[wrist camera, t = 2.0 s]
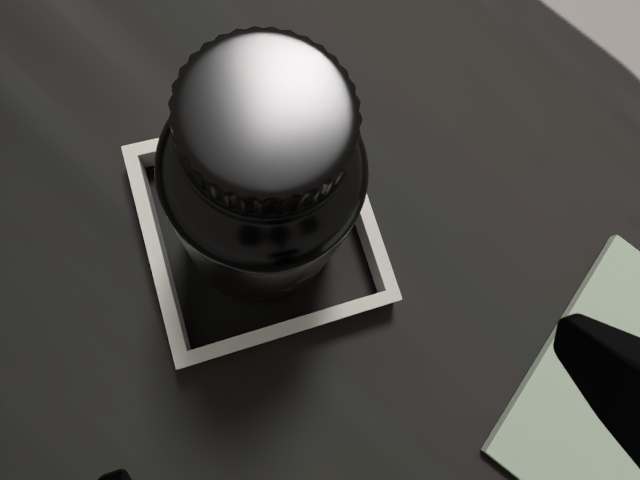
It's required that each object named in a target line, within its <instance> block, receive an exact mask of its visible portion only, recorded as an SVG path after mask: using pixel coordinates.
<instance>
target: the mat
mask: <svg viewBox="0 0 640 480" xmlns="http://www.w3.org/2000/svg"><path fill="white" fill-rule="evenodd" d="M575 313H579V314H583V315H585V316H588V317H590V318H593V319H595V320H598V321H600V322H603V323H605V324H608V325H610V326H613V327H615V328H618V329H620V330H623V331H625V332H628V333H630V334H633V335H635V336H638V337H640V252H639V251H638V250H637V249H636V248H634V247H633V246H632V245H630V244H629V243H628V242H626V241H625V240H624V239H622V238H621V237H620V236H618V235H614V236H611V237H610V238H609V239H608V241H607V243H606V244H605V246H604V248H603V249H602V251H601V253H600V254H599V256H598V258H597V259H596V261H595V262H594V264H593V266H592V267H591V269H590V271H589V272H588V274H587V276H586V277H585V279H584V281H583V282H582V284H581V285H580V287H579V289H578V290H577V292H576V294H575V295H574V297H573V299H572V300H571V302H570V304H569V305H568V307H567V308H566V310H565V312H564V313H563V315H562V317H561V318H563V317H566V316H568V315H571V314H575ZM561 318H560V319H561ZM556 328H557V325H556V327H555V328H554V330H553V332H552V333H551V335H550V336H549V338H548V340H547V341H546V343H545V345H544V346H543V348H542V350H541V351H540V353H539V355H538V356H537V358H536V359H535V361H534V363H533V364H532V366H531V368H530V369H529V371H528V373H527V374H526V376H525V378H524V379H523V381H522V382H521V384H520V386H519V387H518V389H517V391H516V392H515V394H514V396H513V397H512V399H511V401H510V402H509V404H508V405H507V407H506V409H505V410H504V412H503V414H502V415H501V417H500V419H499V420H498V422H497V424H496V425H495V427H494V429H493V430H492V432H491V433H490V435H489V437H488V438H487V440H486V442H485V443H484V445H483V447H482V448H481V450H482V451H483V452H484V453H485V454H487V455H488V456H489V457H490V458H492V459H493V460H494V461H495V462H497V463H498V464H499V465H500V466H502V467H503V468H504V469H506V470H507V471H508V472H509V473H511V474H512V475H513V476H514V477H516V478H517V479H518V480H640V469H639V468H638V466H637V465H636V464H635V463H634V462H633V460H632V459H631V458H630V457H629V455H628V454H627V453H626V452H625V451H624V449H623V448H622V447H621V446H620V444H619V443H618V442H617V441H616V440H615V438H614V437H613V436H612V435H611V433H610V432H609V431H608V430H607V428H606V427H605V426H604V425H603V423H602V422H601V421H600V420H599V418H598V417H597V416H596V414H595V413H594V411H593V410H592V409H591V407H590V406H589V404H588V403H587V401H586V400H585V398H584V397H583V395H582V394H581V392H580V391H579V389H578V388H577V386H576V385H575V383H574V382H573V380H572V379H571V377H570V376H569V374H568V373H567V371H566V370H565V368H564V367H563V365H562V364H561V362H560V361H559V359H558V358H557V356H556V354H555V352H554V348H553V343H554V338H555V333H556Z"/></svg>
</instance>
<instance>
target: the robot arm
mask: <svg viewBox="0 0 640 480" xmlns="http://www.w3.org/2000/svg"><path fill="white" fill-rule="evenodd" d="M553 348H554V352H555V354H556V356H557V358H558V359H559V361H560V362H561V364H562V365H563V367H564V368H565V370H566V371H567V373H568V374H569V376H570V377H571V379H572V380H573V382H574V383H575V385H576V386H577V388H578V389H579V391H580V392H581V394H582V395H583V397H584V398H585V400H586V401H587V403H588V404H589V406H590V407H591V409H592V410H593V411H594V413H595V414H596V416H597V417H598V418H599V420H600V421H601V422H602V423H603V425H604V426H605V427H606V428H607V430H608V431H609V432H610V433H611V435H612V436H613V437H614V438H615V440H616V441H617V442H618V443H619V444H620V446H621V447H622V448H623V449H624V451H625V452H626V453H627V454H628V455H629V457H630V458H631V459H632V460H633V462H634V463H635V464H636V465H637V466H638V468H639V469H640V337H638V336H635V335H633V334H630V333H628V332H625V331H623V330H620V329H618V328H615V327H613V326H610V325H608V324H605V323H603V322H600V321H598V320H595V319H593V318H590V317H588V316H585V315H583V314H579V313H575V314H571V315H568V316H566V317H563V318H561V319H560V320H559V321H558V323H557V328H556V333H555V338H554V343H553ZM98 480H132V479H131V478H130V476H129V474H128V473H127V471H126V470H124V469H118V470H115V471H112V472H110V473H107V474H104V475H102V476H101V477H100V478H99V479H98Z"/></svg>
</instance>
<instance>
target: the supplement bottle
mask: <svg viewBox="0 0 640 480" xmlns="http://www.w3.org/2000/svg"><path fill="white" fill-rule="evenodd" d="M355 91H356V89H355V85H354V83H353V82H352V81H351V80H350V79H349V76H348V72H347V70H346V69H345V68H344V67H342V66H341V65H340V64H339V62H338V60H337V58H336V57H335V56H334V55H332V54H330V53H328V52H327V51H326V49H325V48H324V47H323V46H322V45H320V44H316V43H314V42H313V41H312V40H310V39H309V38H308V37H307V36H300V35H297V34H295V33H294V32H292V31H291V30H279V29H277V28H274V27H267V28H260V27H255V26H254V27H251V28H249V29H246V30H245V29H236V30H234V31H232V32H231V33H229V34H222V35H219V36H217V37H216V39H215V40H214V41H210V42H207V43H204V44H203V46H202V47H201V49H200V50H199V51H197V52H195V53H193V54H191V55H190V57H189V60H188V63H186V64H185V65H183V66H182V67H181V68H180V70H179V77H178V78H177V79H176V80H175V81H174V83H173V84H172V93H173V95H172V96H171V98H170V100H169V103H168V105H169V109H170V112H171V113H170V116H169V118H168V120H167V122H166V124H165V126H164V128H163V130H162V132H161V135H160V137H159V141H158V144H157V148H156V154H155V162H154V176H155V184H156V190H157V194H158V197H159V200H160V203H161V206H162V208H163V211H164V213H165V215H166V217H167V219H168V221H169V223H170V225H171V226H172V228H173V229H174V231H175V233H176V234H177V236H178V238H179V239H180V241H181V243H182V244H183V246H184V247H185V249H186V251H187V252H188V254H189V256H190V257H191V259H192V260H193V262H194V263H195V265H196V267H197V268H198V269H199V271H200V272H201V273H202V274H203V276H204V277H205V278H206V279H207V280H208V281H209V282H210V283H212V284H213V285H214V286H215V287H217V288H218V289H220V290H222V291H223V292H225V293H227V294H229V295H232V296H234V297H237V298H241V299H245V300H252V301H268V300H274V299H279V298H282V297H285V296H288V295H290V294H292V293H294V292H296V291H298V290H300V289H301V288H303V287H304V286H305V285H307V284H308V283H309V282H310V281H311V280H312V279H313V278H314V277H315V276H316V275H317V274H318V273H319V271H320V270H321V269H322V268H323V266H324V265H325V264H326V262H327V261H328V260H329V259H330V257H331V256H332V255H333V253H334V252H335V251H336V249H337V248H338V247H339V245H340V244H341V243H342V241H343V240H344V239H345V237H346V236H347V235H348V233H349V232H350V230H351V229H352V227H353V226H354V224H355V222H356V220H357V218H358V216H359V214H360V212H361V209H362V207H363V204H364V201H365V197H366V193H367V187H368V175H369V173H368V160H367V154H366V150H365V146H364V143H363V140H362V137H361V135H360V129H359V128H360V125H361V123H362V116H361V114H360V112H359V109H360V100H359V98H358V97H357V96H356V94H355Z"/></svg>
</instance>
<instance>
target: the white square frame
mask: <svg viewBox="0 0 640 480" xmlns="http://www.w3.org/2000/svg"><path fill="white" fill-rule="evenodd" d="M158 141H159V138H156V139H152V140H147V141H143V142H138V143H134V144H129V145H125V146H121V148H122V152H123V156H124V160H125V164H126V169H127V173H128V177H129V181H130V185H131V189H132V193H133V197H134V201H135V205H136V209H137V213H138V217H139V222H140V226H141V230H142V234H143V238H144V242H145V246H146V250H147V254H148V258H149V262H150V266H151V270H152V274H153V279H154V283H155V287H156V291H157V295H158V299H159V303H160V307H161V311H162V315H163V319H164V323H165V327H166V332H167V336H168V340H169V344H170V348H171V352H172V356H173V360H174V364H175V368H176V370H178V369H182V368H185V367H188V366H192V365H195V364H198V363H201V362H204V361H208V360H211V359H214V358H217V357H220V356H224V355H227V354H230V353H233V352H237V351H240V350H243V349H246V348H249V347H253V346H256V345H259V344H262V343H265V342H269V341H272V340H275V339H278V338H281V337H285V336H288V335H291V334H294V333H298V332H301V331H304V330H307V329H310V328H314V327H317V326H320V325H323V324H326V323H330V322H333V321H336V320H339V319H342V318H346V317H349V316H352V315H355V314H359V313H362V312H365V311H368V310H371V309H375V308H378V307H381V306H384V305H387V304H391V303H394V302H397V301H399V300H402V296H401V293H400V290H399V287H398V284H397V282H396V279H395V276H394V273H393V270H392V267H391V264H390V261H389V258H388V255H387V252H386V249H385V246H384V243H383V240H382V237H381V234H380V231H379V228H378V225H377V222H376V220H375V217H374V214H373V211H372V208H371V205H370V202H369V199H368V196H367V193H366V197H365V201H364V204H363V207H362V209H361V212H360V214H359V216H358V218H357V220H356V222H355V226H356V229H357V232H358V235H359V238H360V241H361V244H362V247H363V250H364V253H365V256H366V259H367V262H368V265H369V268H370V271H371V274H372V277H373V280H374V283H375V286H376V289H377V292H378V293H376V294H372V295H369V296H366V297H363V298H359V299H356V300H353V301H349V302H346V303H343V304H340V305H336V306H333V307H330V308H327V309H323V310H320V311H317V312H313V313H310V314H307V315H304V316H300V317H297V318H294V319H291V320H287V321H284V322H281V323H277V324H274V325H271V326H268V327H264V328H261V329H258V330H255V331H251V332H248V333H245V334H241V335H238V336H235V337H232V338H228V339H225V340H222V341H219V342H215V343H212V344H209V345H205V346H202V347H199V348H196V349H192V350H191V347H190V343H189V339H188V335H187V331H186V327H185V323H184V319H183V315H182V311H181V307H180V303H179V299H178V295H177V292H176V288H175V284H174V280H173V276H172V272H171V268H170V264H169V260H168V256H167V252H166V248H165V244H164V240H163V236H162V232H161V228H160V224H159V220H158V216H157V212H156V209H155V205H154V201H153V197H152V193H151V189H150V185H149V181H148V177H147V173H146V169H145V168H146V167H150V166H154V162H155V154H156V148H157V144H158Z"/></svg>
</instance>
